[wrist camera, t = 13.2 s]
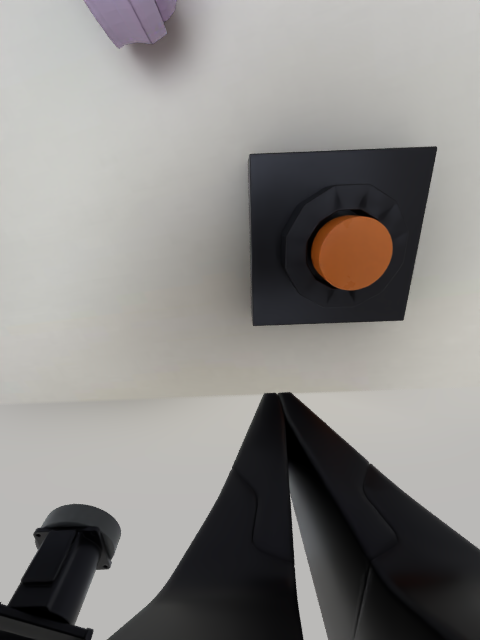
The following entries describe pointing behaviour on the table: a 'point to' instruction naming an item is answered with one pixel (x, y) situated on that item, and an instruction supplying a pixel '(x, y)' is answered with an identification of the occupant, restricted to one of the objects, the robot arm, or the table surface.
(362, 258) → the button
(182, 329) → the table surface
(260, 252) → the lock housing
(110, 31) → the headphones
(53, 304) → the table surface
